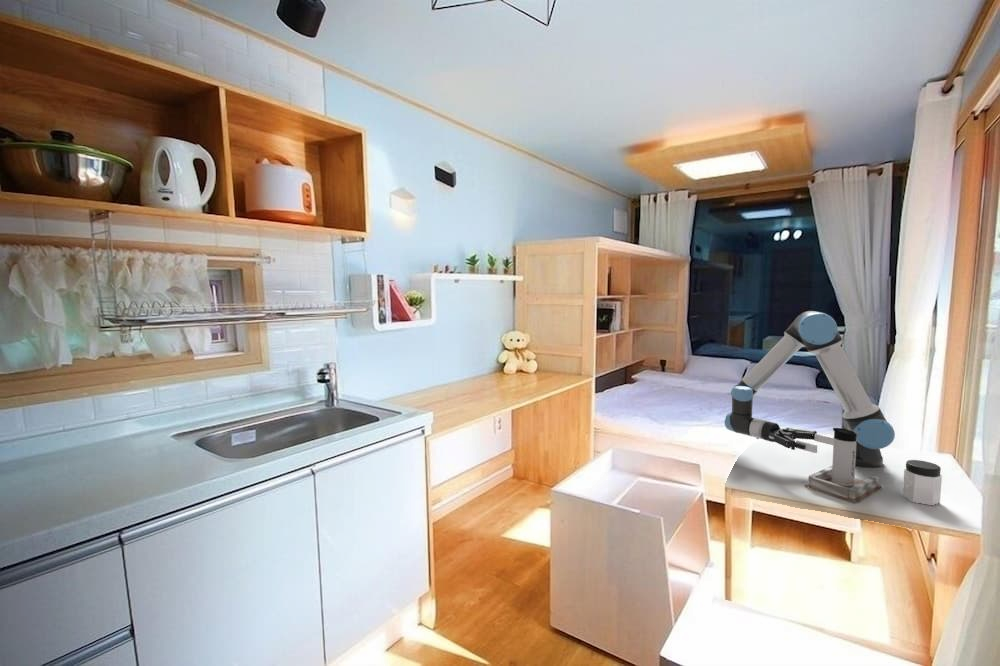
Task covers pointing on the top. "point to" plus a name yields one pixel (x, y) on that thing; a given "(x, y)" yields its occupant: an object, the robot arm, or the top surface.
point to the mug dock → (854, 494)
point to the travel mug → (844, 457)
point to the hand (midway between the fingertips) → (826, 445)
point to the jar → (922, 482)
